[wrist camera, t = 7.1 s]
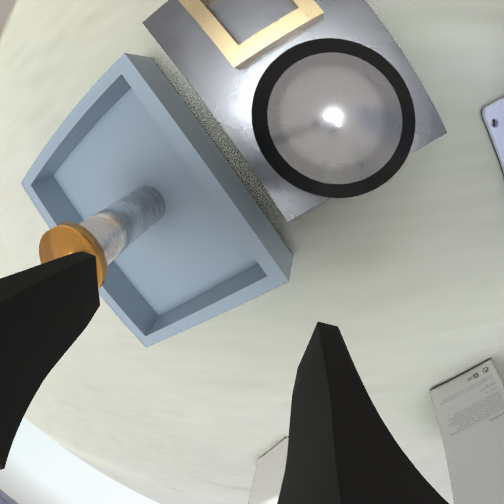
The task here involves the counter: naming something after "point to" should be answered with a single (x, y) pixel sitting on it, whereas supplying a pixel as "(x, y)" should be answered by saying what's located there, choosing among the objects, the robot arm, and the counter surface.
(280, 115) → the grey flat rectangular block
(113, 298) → the tray
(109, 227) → the lock pin
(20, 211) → the counter surface
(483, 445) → the skincare box
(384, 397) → the counter surface
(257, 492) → the medicine bottle
